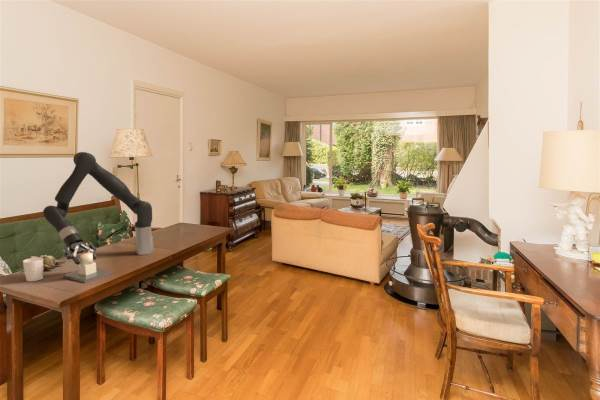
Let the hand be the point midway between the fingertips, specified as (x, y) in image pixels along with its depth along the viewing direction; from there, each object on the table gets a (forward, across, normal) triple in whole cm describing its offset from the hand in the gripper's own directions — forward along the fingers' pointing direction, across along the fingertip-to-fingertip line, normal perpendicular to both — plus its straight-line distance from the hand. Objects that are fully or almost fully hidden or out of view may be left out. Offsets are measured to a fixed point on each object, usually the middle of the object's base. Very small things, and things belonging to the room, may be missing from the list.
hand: (87, 261), depth 171 cm
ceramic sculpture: (-16, -2, +28) cm, 32 cm away
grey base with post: (+5, 0, +6) cm, 8 cm away
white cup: (-8, -14, +20) cm, 25 cm away
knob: (+4, 0, +5) cm, 6 cm away
